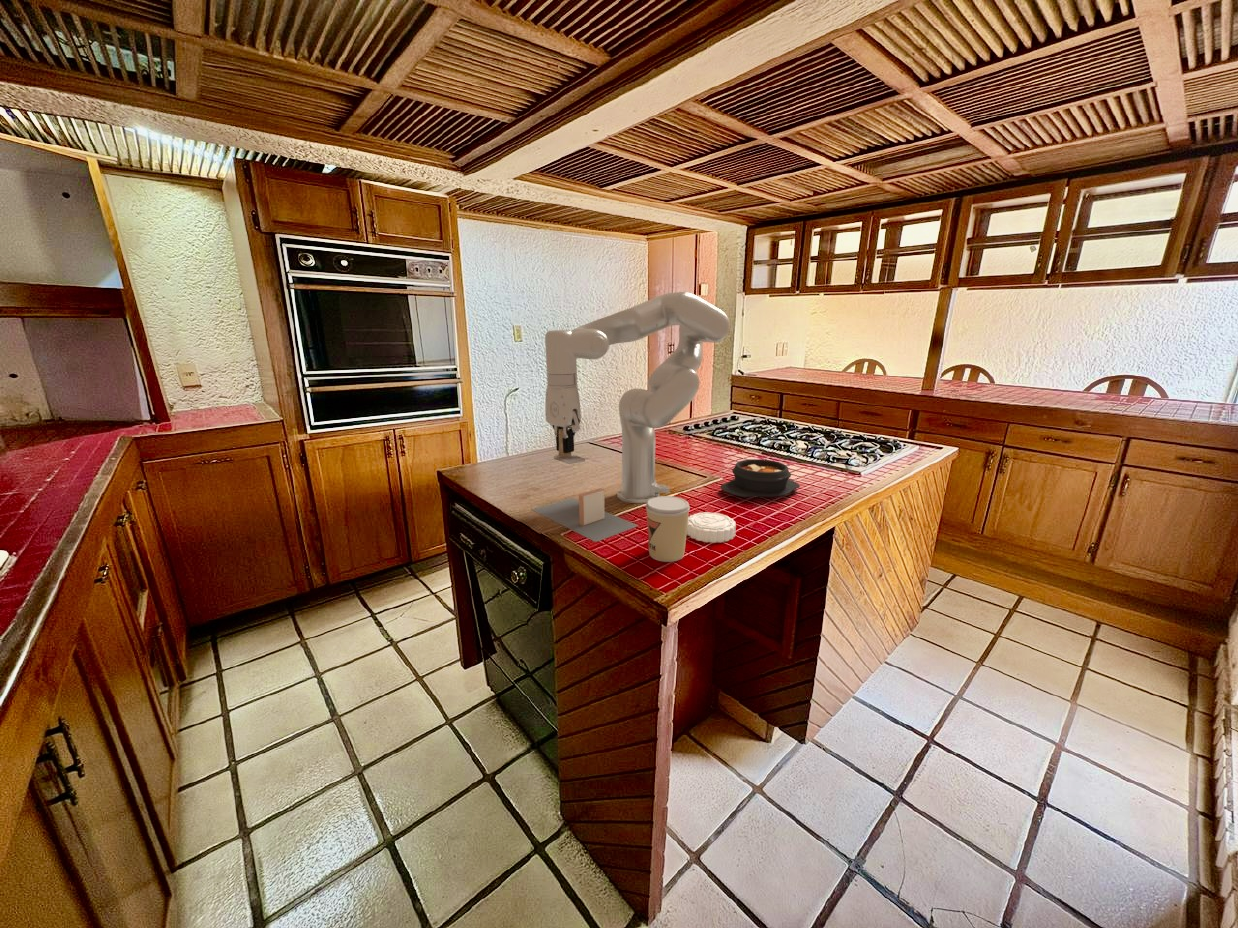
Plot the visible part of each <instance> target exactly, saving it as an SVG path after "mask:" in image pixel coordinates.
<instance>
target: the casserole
mask: <svg viewBox="0 0 1238 928" xmlns="http://www.w3.org/2000/svg"><path fill="white" fill-rule="evenodd" d="M731 472H732V473H733V475H734V478H733V479H731V480H730V481H728V482H725V483H723V484H721V485H720V486H719V488H720V489H721V490H722V491H724V492H726V493H727V494H730V495H733V496H736V497H740V498H762V499H763V498H765V499H768V498H775V497H782V496H783V497H784V496H786V495H788V494H791V493H792V492H793V491H795V490H796V489H799V488H800V486H801V485H800V484H799V483H798V482H796V481H795V480H793V479H791V476H792V473H791V472H790V470H789V466H788V465H786V464H785V463H782V462H780V461H775V460H769V459H762V458H761V459H759V458H757V459H755V458H754V459H753V458H752V459H751V458H750V459H744V460H740V461H737V462H736V464H735V466H734V467H733V468H732V470H731Z"/></svg>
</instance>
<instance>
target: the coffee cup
mask: <svg viewBox="0 0 1238 928" xmlns="http://www.w3.org/2000/svg"><path fill="white" fill-rule="evenodd" d="M645 510H646V523H647V524H646V525H647V537H648V539H647V540H648V552H649V553H648V554H649V556H650V558H652V559H653V560H656V561H658V562H664V563H671V562H673V563H674V562H677V561H680V560H682V559H683V558H684V555H685V553H686V552H685V549H686V541H687V525H688V517H689V516H690V515H689V512H690V504H689V502H688V501H687V500H686V499H684V498H682V497H678V496H674V495H673V496H671V495H660V497H655V498H652V499H650V500H649V501H648V502H647V503H645Z"/></svg>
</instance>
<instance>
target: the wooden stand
mask: <svg viewBox="0 0 1238 928" xmlns="http://www.w3.org/2000/svg"><path fill="white" fill-rule="evenodd" d="M569 429H570V428H568V430H569ZM562 438H564V431H563V429H559V451H558V454H557V455H556V454H555V455H553V459H554V460H557V461H559V462H562V463H565V464H568V465H572V464H580V463H584V462H585V463H586V458H584V457H581V456H578V455H574V454H572V452H569V453H563V440H562Z"/></svg>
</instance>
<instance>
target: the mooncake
mask: <svg viewBox="0 0 1238 928" xmlns="http://www.w3.org/2000/svg"><path fill="white" fill-rule="evenodd" d="M736 528H737V524H736V521H735V520H734V519H733V518H731V517H729V516H728V514H727V515H726V514H722V513H721V512H720V513H718V512H708V511H705V512H698V513H693V514H692V515H691V514H690V515H688V525H687V534H686V536H689V537H690V538H691V539H693V540H694V539H695V540H696V541H700V542H703V543H711V544H712V543H713V544H715V543H723V542H729V541H730V540H733V539H734V538H735V537H736Z"/></svg>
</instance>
